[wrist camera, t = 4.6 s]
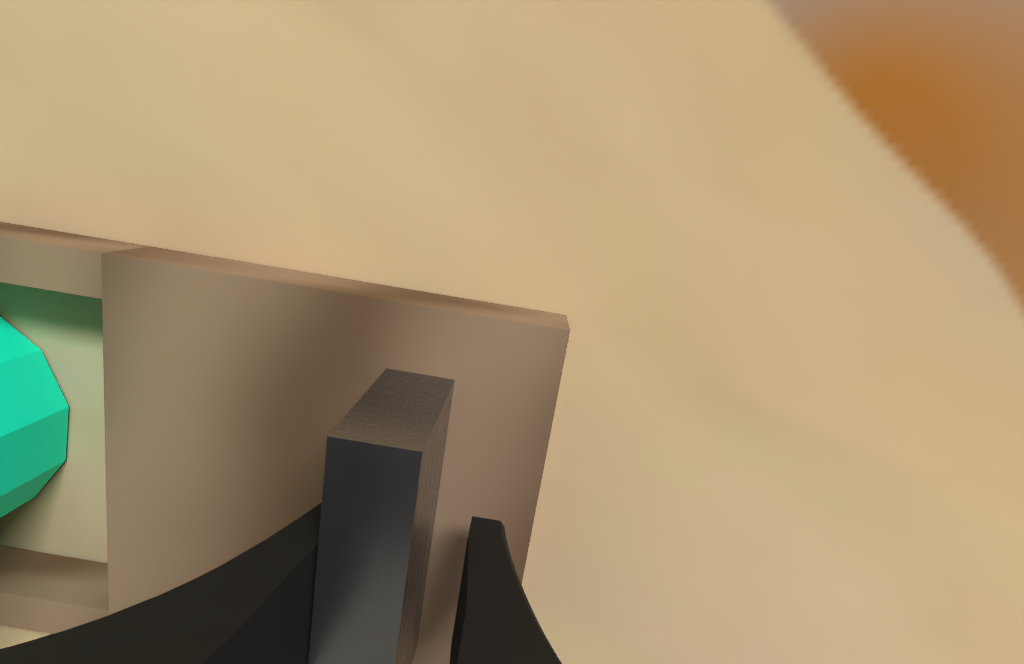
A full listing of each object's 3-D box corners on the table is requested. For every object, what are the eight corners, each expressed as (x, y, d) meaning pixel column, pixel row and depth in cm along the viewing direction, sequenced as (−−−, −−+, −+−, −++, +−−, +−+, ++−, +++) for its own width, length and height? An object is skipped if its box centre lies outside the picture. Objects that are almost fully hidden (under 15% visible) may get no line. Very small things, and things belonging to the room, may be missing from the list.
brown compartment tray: (566, 315, 13) (584, 385, 8) (501, 659, 15) (485, 871, 11) (-266, 177, 13) (-739, 166, 8) (-201, 542, 15) (-537, 700, 11)
